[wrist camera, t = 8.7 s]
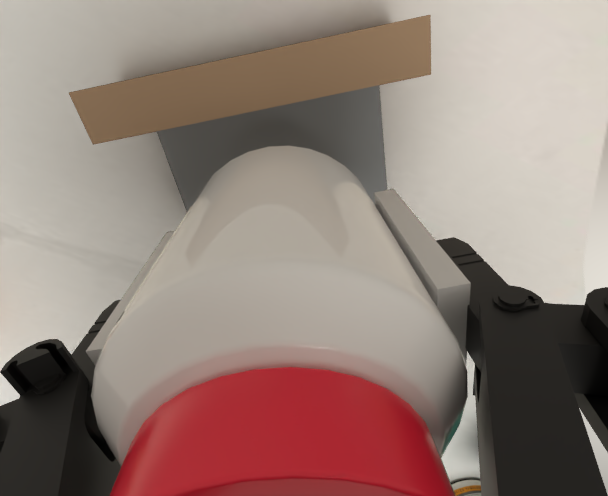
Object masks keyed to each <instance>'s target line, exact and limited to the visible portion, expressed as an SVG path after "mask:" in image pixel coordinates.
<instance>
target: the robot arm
mask: <svg viewBox="0 0 608 496" xmlns="http://www.w3.org/2000/svg"><path fill="white" fill-rule="evenodd" d="M374 195H375V205H376V207H377V208H378V210H379V212H380V213H381V215H382V217H383V218H384V220H385V222H386V223H387V225H388V226H389V228H390V230H391V231H392V233H393V235H394V236H395V238H396V240H397V241H398V243H399V245H400V246H401V248H402V249H403V251H404V253H405V254H406V256H407V258H408V259H409V261H410V263H411V264H412V266H413V267H414V269H415V271H416V272H417V274H418V276H419V277H420V279H421V281H422V282H423V284H424V285H425V287H426V289H427V290H428V292H429V294H430V295H431V297H432V299H433V300H434V302H435V303H436V305H437V307H438V308H439V310H440V312H441V313H442V315H443V317H444V318H445V320H446V321H447V323H448V325H449V326H450V328H451V330H452V331H453V333H454V335H455V337H456V338H457V340H458V343H459V347H460V350H461V353H462V356H463V359H464V362H465V365H466V359H467V351H468V353H469V355H470V356H471V358H472V359H473V361H474V363H475V372H474V385H473V395H475V397H476V413H477V430H478V447H479V464H480V481H481V496H608V495H607V493H606V489H605V486H604V483H603V480H602V477H601V474H600V471H599V468H598V465H597V462H596V459H595V455H594V452H593V449H592V446H591V443H590V440H589V437H588V434H587V431H586V428H585V425H584V422H583V419H582V416H581V413H580V410H579V408H580V409H581V411H582V413H583V414H584V416H585V417H586V419H587V420H588V422H589V424H590V425H591V427H592V428H593V430H594V432H595V433H596V435H597V436H598V438H599V439H600V441H601V443H602V444H603V446H604V447H605V449H606V450H607V452H608V288H607V287H605V288H600V289H595V290H593V291H592V292H591V293H589V294H588V295H587V298H586V302H585V305H565V304H549V303H544V302H543V300H542V299H541V297H539V296H538V295H536V294H535V293H533V292H532V291H529V290H527V289H524V288H521V287H516V286H510V285H508V284H507V283H506V282H505V281H504V280H503V279H502V278H501V277H500V276H499V275H498V274H497V273H496V272H495V271H494V270H493V269H492V268H491V267H490V266H489V265H488V264H487V263H486V262H484V261H483V259H482V258H481V257H480V256H479V255H478V254H476V252H475V251H474V250H473V249H472V247H471V246H470V245H469V244H467V243H465V242H463V241H461V240H459V239H456V238H448V239H443V240H437V241H436V240H435V239H434V238H433V237H432V235H431V234H430V233H429V232H428V230H427V229H426V228H425V227H424V226H423V224H422V223H421V222H420V221H419V220H418V218H417V217H416V216H415V215H414V213H413V212H412V211H411V210H410V209H409V207H408V206H407V205H406V204H405V202H404V201H403V200H402V199H401V198H400V196H399V195H398V194H397V193H396V191H395V190H394V189H390V190H385V191H380V192H374ZM174 232H175V231H172V232H167V233H166V234H165V236H164V237H163V239H162V240H161V242H160V243H159V245H158V246H157V248H156V249H155V250H154V252H153V253H152V255H151V256H150V258H149V259H148V261H147V262H146V264H145V265H144V267H143V268H142V270H141V271H140V272H139V274H138V275H137V277H136V278H135V280H134V281H133V283H132V284H131V286H130V287H129V289H128V290H127V292H126V293H125V294H124V296H123V297H122V299H121V300H117V301H115V302H114V303H112V304H111V305H110V306H109V307H108V308H107V309H105V310H104V311H103V312H102V313H101V315H100V316H99V318H98V319H97V320H96V322H95V325H93V326H92V327H91V329H90V330H89V331H88V334H86V336H85V337H84V338H83V340H82V341H81V343H80V344H79V345H78V347H77V348H76V350H75V351H74V352H73V354H72V355H71V354H70V353H69V351H68V350H67V349H66V347H65V346H64V344H63V343H62V342H61V341H59V340H57V339H48V340H45V341H42V342H38V343H36V344H34V345H32V346H30V347H28V348H26V349H24V350H23V351H21V352H20V353H18V354H17V355H15V356H14V357H13V358H12V359H11V360H9V361H8V362H7V363H6V364H5V366H4V367H3V368H2V370H1V371H0V373H1V374H2V375H3V376H4V377H5V378H6V379H7V381H8V382H9V383H10V384H11V385H12V386H13V387H14V389H15V390H16V391H17V392H18V393H19V394H20V398H19V399H17V400H14V401H12V402H9V403H7V404H4V405H2V406H0V496H110V493H111V491H112V488H113V486H114V484H115V481H116V479H117V476H118V474H119V471H120V469H121V468H120V466H119V464H118V463H117V461H116V459H115V458H114V456H113V454H112V453H111V451H110V449H109V448H108V446H107V444H106V442H105V440H104V438H103V436H102V434H101V432H100V430H99V428H98V426H97V423H96V419H95V414H94V409H93V404H92V398H91V393H92V385H93V377H94V369H95V365H96V362H97V360H98V357H99V355H100V353H101V351H102V349H103V347H104V344H105V342H106V340H107V338H108V336H109V334H110V332H111V331H112V329H113V327H114V326H115V324H116V322H117V321H118V319H119V318H120V316H121V315H122V313H123V311H124V310H125V308H126V307H127V305H128V304H129V302H130V301H131V299H132V297H133V296H134V294H135V293H136V291H137V290H138V288H139V286H140V285H141V283H142V282H143V280H144V279H145V277H146V276H147V274H148V272H149V271H150V269H151V268H152V266H153V265H154V263H155V262H156V260H157V258H158V257H159V255H160V254H161V252H162V251H163V249H164V247H165V246H166V244H167V243H168V241H169V240H170V238H171V237H172V235H173V233H174Z"/></svg>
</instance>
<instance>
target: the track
mask: <svg viewBox="0 0 608 496" xmlns="http://www.w3.org/2000/svg"><path fill="white" fill-rule="evenodd" d="M430 74H431V26H430V15H427V16H422V17H417V18H413V19H408V20H404V21H399V22H394V23H390V24H385V25H380V26H376V27H371V28H366V29H362V30H357V31H352V32H348V33H343V34H339V35H334V36H329V37H325V38H320V39H315V40H311V41H306V42H301V43H297V44H292V45H288V46H283V47H278V48H274V49H269V50H264V51H260V52H255V53H250V54H246V55H241V56H237V57H232V58H227V59H223V60H218V61H213V62H209V63H204V64H199V65H195V66H190V67H186V68H181V69H176V70H172V71H167V72H162V73H158V74H153V75H148V76H144V77H139V78H135V79H130V80H125V81H121V82H116V83H111V84H107V85H102V86H97V87H93V88H88V89H84V90H79V91H74V92H70V93H69V95H70V97H71V99H72V101H73V103H74V105H75V107H76V109H77V112H78V114H79V116H80V118H81V120H82V122H83V124H84V126H85V129H86V131H87V133H88V135H89V137H90V139H91V141H92V143H93V144H98V143H103V142H108V141H113V140H117V139H122V138H127V137H132V136H137V135H142V134H146V133H151V132H156V131H157V133H158V136H159V139H160V141H161V144H162V147H163V149H164V152H165V155H166V157H167V160H168V163H169V165H170V168H171V171H172V173H173V176H174V179H175V181H176V184H177V186H178V189H179V192H180V194H181V197H182V200H183V202H184V205H185V208H186V210H187V212H188V210H189V208H190V207H191V205H192V204H193V202H194V201H195V199H196V198H197V196H198V194H199V193H200V191H201V190H202V188H203V187H204V186H205V184H206V183H207V182H208V181H209V179H210V178H211V177H212V176H213V175H214V173H215V172H216V171H218V170H219V169H220V168H221V167H223V166H224V165H225V164H226V163H228V162H229V161H230V160H232V159H234V158H236V157H238V156H240V155H242V154H244V153H246V152H248V151H252V150H256V149H260V148H264V147H268V146H287V145H290V146H296V147H303V148H309V149H312V150H315V151H318V152H320V153H323V154H326V155H328V156H330V157H332V158H333V159H335V160H336V161H338V162H340V163H341V164H343V165H344V166H346V167H347V168H348V169H349V170H350V171H351V172H352V173H353V174H354V175H355V176H356V177H357V178H358V179H359V180H360V182H361V183H362V185H363V186H364V188H365V189H366V191H367V192H368V194H369V195H370V197H371V199H372V200H373V202H374V204H375V195H374V192H380V191H385V190H387V183H386V169H385V156H384V143H383V130H382V116H381V103H380V90H379V85H382V84H387V83H392V82H397V81H401V80H406V79H411V78H416V77H421V76H425V75H430Z"/></svg>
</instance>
